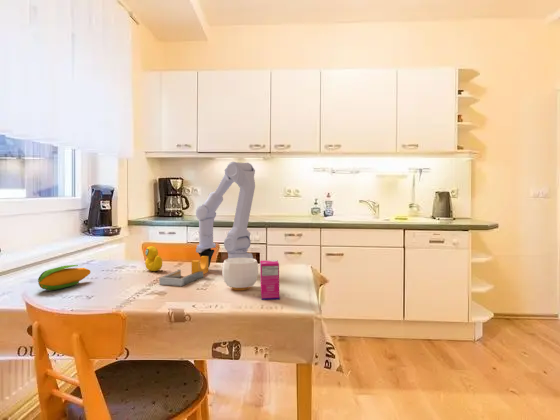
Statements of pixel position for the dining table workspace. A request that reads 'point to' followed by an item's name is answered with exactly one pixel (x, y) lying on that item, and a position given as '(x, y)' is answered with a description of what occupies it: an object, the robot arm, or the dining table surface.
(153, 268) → the duckling
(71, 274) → the corn
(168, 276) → the grey shallow rectangular tray
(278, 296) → the supplement box
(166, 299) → the dining table surface
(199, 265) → the pipe clamp
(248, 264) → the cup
